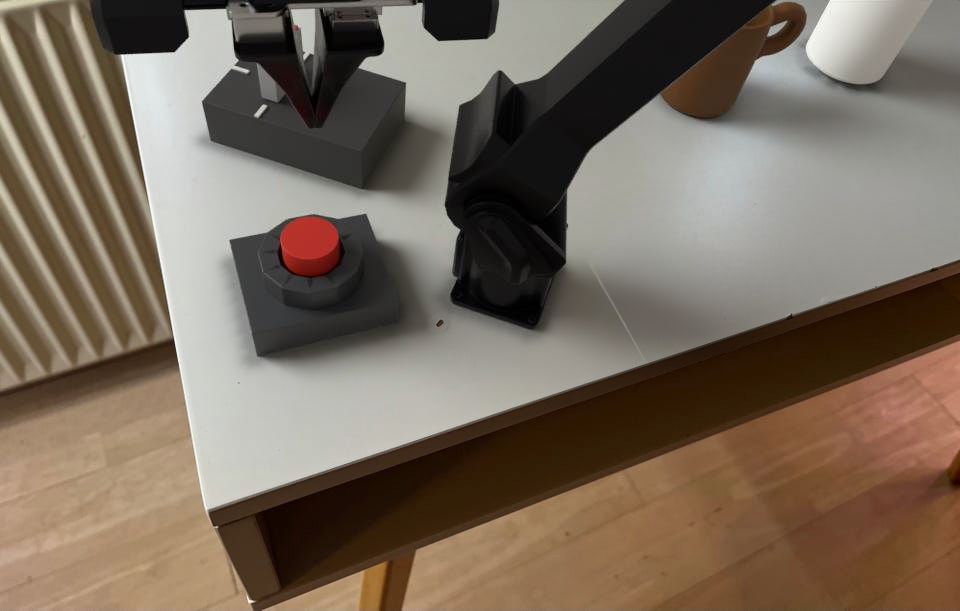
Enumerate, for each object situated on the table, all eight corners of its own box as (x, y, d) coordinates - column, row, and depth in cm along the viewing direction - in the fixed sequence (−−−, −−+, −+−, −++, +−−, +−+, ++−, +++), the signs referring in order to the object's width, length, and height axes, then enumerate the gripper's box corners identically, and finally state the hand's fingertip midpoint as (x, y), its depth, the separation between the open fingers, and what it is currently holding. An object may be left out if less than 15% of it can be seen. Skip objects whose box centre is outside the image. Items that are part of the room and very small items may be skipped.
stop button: (332, 229, 50) (330, 211, 48) (346, 270, 48) (345, 252, 46) (277, 240, 48) (274, 222, 47) (289, 282, 47) (287, 264, 45)
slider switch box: (404, 121, 63) (406, 80, 60) (362, 190, 58) (361, 149, 54) (264, 77, 64) (258, 35, 61) (210, 141, 59) (200, 99, 56)
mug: (752, 64, 74) (795, -25, 66) (788, 114, 70) (838, 25, 62) (642, 71, 71) (674, -21, 64) (672, 123, 67) (710, 31, 59)
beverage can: (886, 96, 73) (964, -17, 64) (806, 79, 73) (871, -37, 64) (875, 49, 78) (945, -63, 69) (799, 33, 78) (859, -81, 69)
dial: (278, 103, 57) (272, 57, 53) (261, 98, 57) (254, 52, 53) (305, 69, 59) (301, 24, 56) (288, 64, 59) (283, 19, 56)
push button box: (366, 238, 55) (366, 195, 51) (398, 323, 51) (400, 283, 47) (234, 264, 52) (224, 221, 48) (257, 357, 48) (247, 317, 44)
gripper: (465, -237, 37) (442, 35, 50) (60, -256, 33) (146, 47, 46) (524, -133, 31) (481, 148, 44) (35, -140, 27) (142, 174, 39)
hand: (314, 123), depth 43 cm, fingers closed
